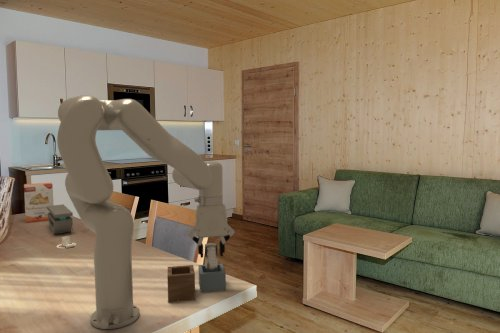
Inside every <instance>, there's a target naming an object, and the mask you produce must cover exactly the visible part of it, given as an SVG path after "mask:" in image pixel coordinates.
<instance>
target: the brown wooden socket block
mask: <svg viewBox="0 0 500 333" xmlns="http://www.w3.org/2000/svg"><path fill="white" fill-rule="evenodd" d="M195 274H196V273H195V267H194V264H190V265H188V264H187V265H176V266H167V303H174V302H175V303H179V302H186V301H187V302H189V301H196V275H195Z"/></svg>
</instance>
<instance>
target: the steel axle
mask: <svg viewBox="0 0 500 333" xmlns="http://www.w3.org/2000/svg"><path fill="white" fill-rule="evenodd" d="M218 264H219V263H218V244H217V242H216V243H215V242H208V243H205V244H204V265H205V272H218Z"/></svg>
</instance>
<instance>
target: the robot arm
mask: <svg viewBox="0 0 500 333" xmlns="http://www.w3.org/2000/svg"><path fill="white" fill-rule="evenodd" d="M57 117H58V119H59V121H60V124H59V127H58V131H57V138H56V139H57V140H56V142H57V148H58V152H59V155H60V157H61V160H62V161H63V164H64V166H65V168H66V171H67V174H66V176H65V180H64V186H65V191H66V192H67V195H68V197H69V200H71V203H72V205H73V207H74V208H75V210H76V212H77V215H78V217H79V218H80V220H81V222H82V223H83V225H84V227H86V228H87V230H89V231H90V232H92V233H93V234H95V241H94V242H95V243H94V248H93V263H94V264H93V266H94V268H93V269H94V285H95V286H94V287H95V288H94V289H95V311H94V312H93V313H92V314H91V315H90V319H89V320H90V325H92V326H93V327H94V328H97V329H101V330H114V329H120V328H122V327H126V326H128V325H130V324H132V323H134V322H135V321H136V320H138V319H139V317H140V309H139V307H138V306H137V305H135V304H134V291H133V290H134V288H133V261H132V260H133V259H132V257H133V254H132V252H133V251H132V250H133V249H132V247H133V244H132V243H133V234H134V227H135V226H134V218H133V216H132V215H133V214H132V213H131V212H130V211H129V209H128V208H126V207H125V206H124V205H121V204H120V203H116V202H113V201H112V199H111V196H112V195H113V193H114V182H113V179H112V178H111V175H110V173H109V171H108V169H107V167H106V165H105V163H104V160H103V158H102V156H101V154H100V152H99V149H98V146H97V142H96V136H97V131H122V132H123V133H125V135H126V136H127V137H128V138H130V139H131V140H132V141H133V142H134V143H135V144H136V145H137V146H138V147H139V148H140V149H141V150H142V151H143V152H144V153H146V154H147V156H149V157H151V158H152V159H155V160H156V161H159V162H162V163H164V164H165V165H168V166H170V167H171V168H173V170H172V173H171V174H172V179H173V181H174V183H176V184H177V185H178V186H180V187H183V188H188V189H193V190H198V196H196V197H194V203H198V204H197V205H196V211H195V221H194V222H195V224H194V225H193V227H191V228H190V230H188V232H187V236H188V237H189V239H192V241H193V242H195V243H196V244H197V246H198V247H197V254H198V255H199V256H200V258H204V244H203V240H204V239H205V238H219V239H220V241H219V246H218V247H219V255H220V256H221V257H223V256H224V254H225V253H226V251H225V250H226V248H225V247H226V245H225V244H227V242H228V240H230V239H231V237H233V235H234V234H235V232H236V231H235V230H234V229H233V228H232V227H231V226H230V225H229V224H228V214H227V208H226V205H225V204H224V203H223V199H224V198H223V195H224V192H223V165H222V163H220V162H216V161H206V162H205V160H204V159H203V158H201V156H200V155H199V154H198V153H197V152H195V151H194V150H193V149H192V148H190V147H189V146H188V145H186V144H184V142H182V141H181V140H179V139H178V138H176V137H175V136H173V135H172V134H170V133H169V132H168V130H167V129H165V128H164V127H163V125H161V123H159V122H158V120H156V119H155V117H154V116H153V115H152V114H151V113H150V112H149V111H148V110H147V109H146V108H145V107H144V106H143V105H142V104H141V103H140V102H139V101H137V100H135V99H132V98H122V99H121V98H120V99H116V100H115V99H114V100H109V99H108V100H106V99H105V100H102V99H101V100H100V99H99V98H97V97H95V96H92V95H79V96H74V97H69V98H67V99H65V100H63V101H62V102H61V103H60V105H59V106H58V108H57ZM194 233H195V235H194Z"/></svg>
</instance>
